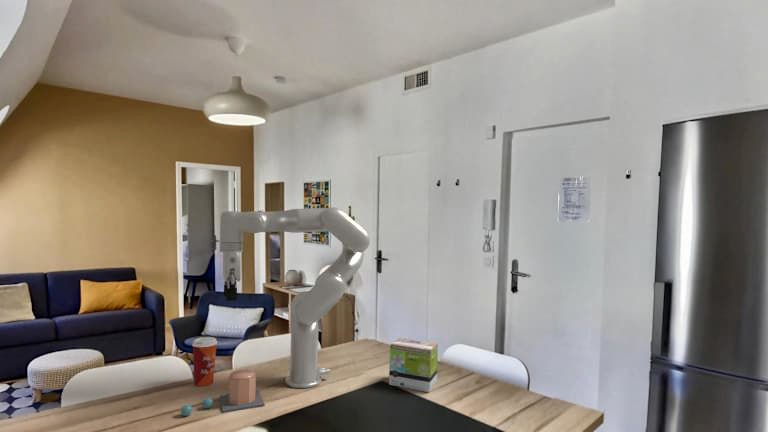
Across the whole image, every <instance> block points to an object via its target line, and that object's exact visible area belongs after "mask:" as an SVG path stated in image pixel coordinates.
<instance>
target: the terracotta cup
mask: <svg viewBox="0 0 768 432" xmlns="http://www.w3.org/2000/svg"><path fill="white" fill-rule="evenodd" d="M256 377H257V376H256V372H255V371H254V370H252V369H240V370H235V371H232V372H231V373H230V374H229V376H228V394H229V399H228V400H229V404H234V405H243V404H249V403H251V402H252V401H254V400H255V390H256V387H257V385H256V381H257V378H256Z"/></svg>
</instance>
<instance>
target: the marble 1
mask: <svg viewBox="0 0 768 432" xmlns="http://www.w3.org/2000/svg"><path fill="white" fill-rule="evenodd" d="M192 412H193V407H192V405H190V404H184V405H183V406H182V407H181V408H180V414H181V415H182V416H183V417H188V416H190V414H191V413H192Z"/></svg>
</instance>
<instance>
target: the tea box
mask: <svg viewBox="0 0 768 432" xmlns="http://www.w3.org/2000/svg"><path fill="white" fill-rule="evenodd" d="M389 345H390V346H389V373H388V375H389V376H388V379H389V380H388V381H389V383H388V385H389V386H397V387H400V388H406V389H411V390H416V391H420V392H425V393H430V392H431V391H432V389H433V388H434V387H435V386H436V385H437V383H438V355H439V354H438V352H439V350H438V349H439V347H438V346H439V343H438V342H433V341H424V340H421V339H419V340H418V339H412V338H405V337H399V338H397V339H396V340H394V341H393V342H392V343H390V344H389ZM434 385H435V386H434Z"/></svg>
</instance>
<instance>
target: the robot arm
mask: <svg viewBox="0 0 768 432" xmlns="http://www.w3.org/2000/svg"><path fill="white" fill-rule="evenodd" d="M219 219H220V220H219V221H220V223H219V250H218V251H219V253H222V279H223V280H224V284H223V296H224V297H226V298H225V299H226V301H227V302H233V301H237V300H238V299H237V298H238V288H237V287H238V285H237V282H241V279H242V278H241V253H244V233H251V234H259V233H273V232H274V233H277V232H279V233H280V232H281V233H282V232H285V233H292V234H295V233H298V234H299V233H319V232H320V233H321V232H322V233H323V232H329V233H331V235H333V236H334V237H335V238H336V239H337V240H338V241H339V242H341V244H342V245H341V246H342V250H341V253H340V255H339V256H338V257H337V258H336V259H335V260H334V261H333V263H331V264H330V265H329V266H328V267H327V268H326V269H325V270H324V271H323V272H321V273H320V274H319V275H318V276H317V277H316V279H315V283H314V286H312V288H311V289H309V291H301V292H299V293H297V294H296V295H295V296H294V297H293V299H292V300H291V305H290V326H291V327H290V355H289V356H290V358H289V359H290V360H289V375H288V376H287V377H286V378H285V379H284V380H285V381H284V382H285V384H286V386H289V387H291V388H294V389H295V388H296V389H307V388H312V387H315V386H318V385H319V384H321V382H322V379H323V378H322V376H326V375H331V373H332V372H331V371H332V370H331V368H325V367H321V368H319V367H318V357H319V356H318V355H319V354H318V353H319V351H318V350H319V320H321V318H322V317H324V316H325V315H326V314H327V313H328V312H329V311H330V310H331V309H332V308H333V307H334V306H335V305H336V304H337V303H338V302H339V301H340V300H341V298H342V297H343V295H344V294H345V293H346V292H345V291H346V284H347V282H348V281H350V279H352V277H353V276H354V275H355V274H356V273H357V272H358V271H359V269H360V268H361V267H362V264H363V261H364V256H365V252H366V250H367V249H368V248H369V246H370V243H371V239H370V236H369V234H368V232H367V231H366V230H365V229H364V228H363V227H361V226H360V225H359V224H358V223H357V222H355V221H354V220H353V219H352V218H351V217H350V216H349V215H348V214H347V213H345V212H344V211H343V210H342V209H341V208H339V207H317V208H315V207H314V208H312V207H311V208H291V209H287V210H280V211H279V210H278V211H257V210H256V211H255V210H253V211H244V212H243V211H236V210H235V211H233V210H228V211H223V212H221V214H220V218H219Z"/></svg>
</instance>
